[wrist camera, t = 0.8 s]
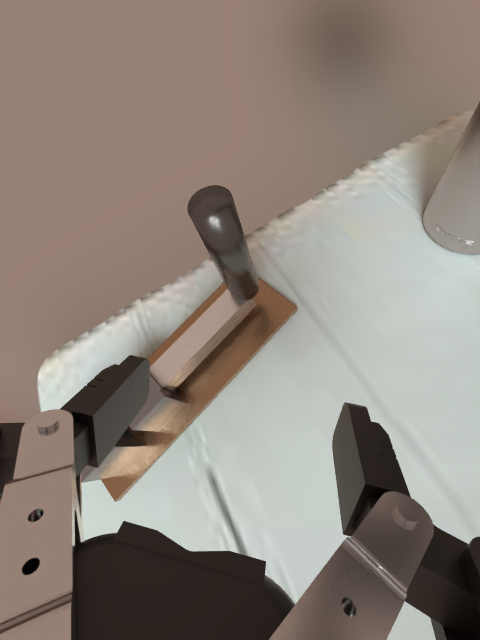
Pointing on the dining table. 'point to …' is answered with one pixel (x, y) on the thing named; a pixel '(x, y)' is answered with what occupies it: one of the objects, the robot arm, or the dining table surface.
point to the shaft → (232, 306)
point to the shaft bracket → (188, 391)
